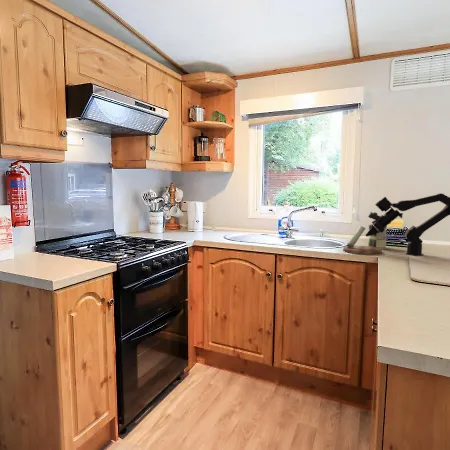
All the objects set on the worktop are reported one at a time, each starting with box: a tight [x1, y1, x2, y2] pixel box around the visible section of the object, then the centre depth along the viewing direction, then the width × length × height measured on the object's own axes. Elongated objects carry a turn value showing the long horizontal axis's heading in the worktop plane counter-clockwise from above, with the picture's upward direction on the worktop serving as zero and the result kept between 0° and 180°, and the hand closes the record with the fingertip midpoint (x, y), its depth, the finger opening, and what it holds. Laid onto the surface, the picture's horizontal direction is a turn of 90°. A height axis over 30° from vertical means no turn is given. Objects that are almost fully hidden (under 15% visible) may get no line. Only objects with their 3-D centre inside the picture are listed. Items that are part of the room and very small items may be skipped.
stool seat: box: [342, 243, 383, 256], centre depth 196 cm, size 21×21×4 cm
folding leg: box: [347, 225, 366, 247], centre depth 196 cm, size 3×3×13 cm
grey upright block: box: [367, 224, 388, 250], centre depth 210 cm, size 10×10×14 cm
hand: (366, 235), depth 195 cm, fingers closed
